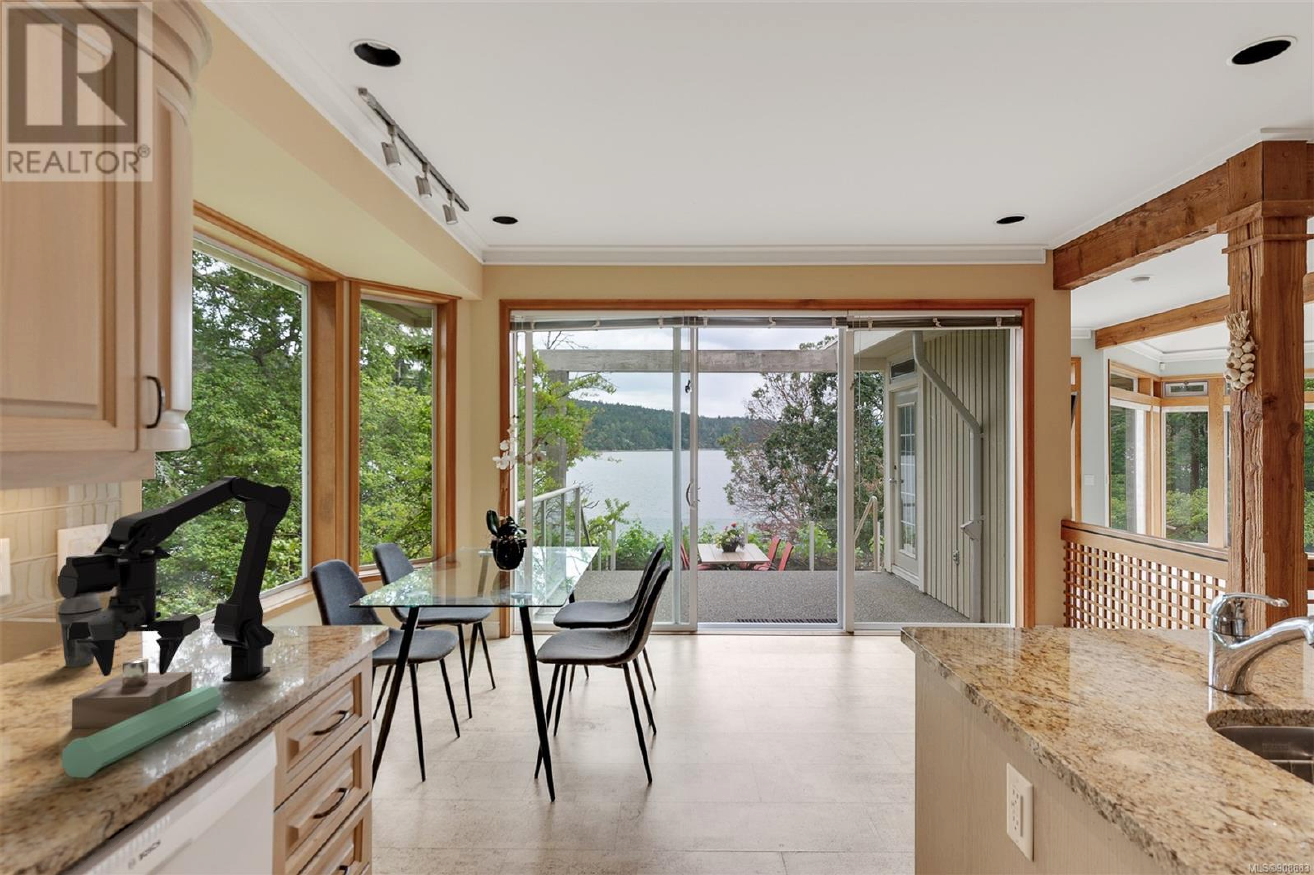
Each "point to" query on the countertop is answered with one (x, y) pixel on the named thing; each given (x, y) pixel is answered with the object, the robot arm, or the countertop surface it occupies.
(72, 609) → the beverage cup
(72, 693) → the countertop surface
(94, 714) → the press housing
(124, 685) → the silver metal peg
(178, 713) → the mint green octagonal rod
